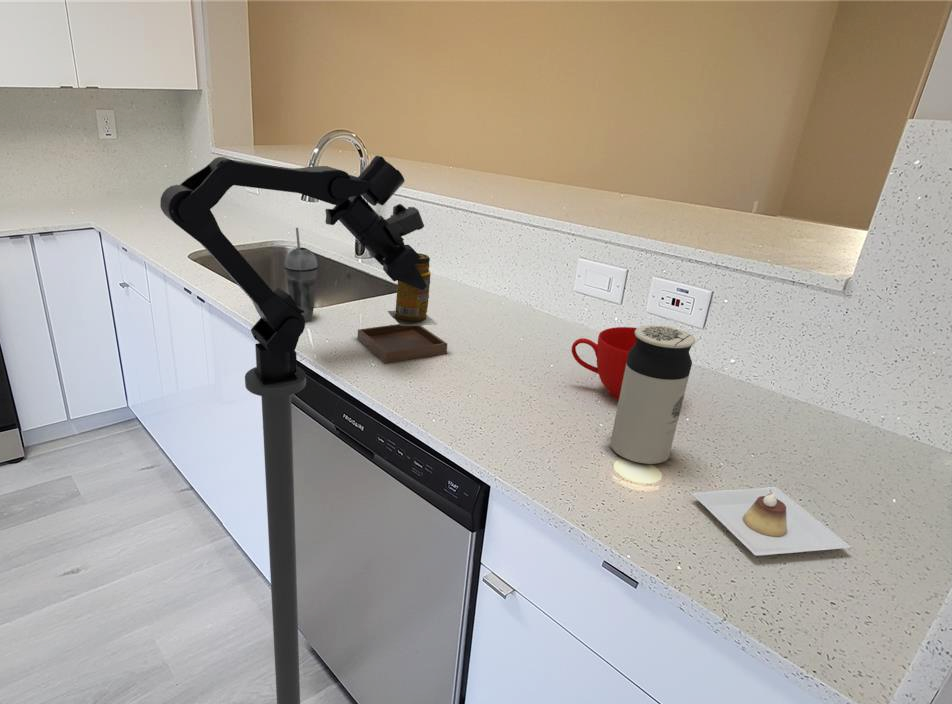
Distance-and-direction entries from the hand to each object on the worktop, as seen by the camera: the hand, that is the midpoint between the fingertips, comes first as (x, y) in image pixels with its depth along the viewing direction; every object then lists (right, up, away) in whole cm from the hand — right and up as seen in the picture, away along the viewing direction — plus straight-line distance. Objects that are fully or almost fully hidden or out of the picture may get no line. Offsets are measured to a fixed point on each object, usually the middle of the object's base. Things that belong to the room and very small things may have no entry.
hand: (420, 283), depth 122 cm
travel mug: (+29, -28, -28) cm, 49 cm away
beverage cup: (-24, -5, +20) cm, 32 cm away
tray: (-3, -12, +6) cm, 14 cm away
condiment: (-2, -7, +2) cm, 7 cm away
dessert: (+38, -35, -44) cm, 68 cm away
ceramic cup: (+33, -20, -11) cm, 40 cm away
